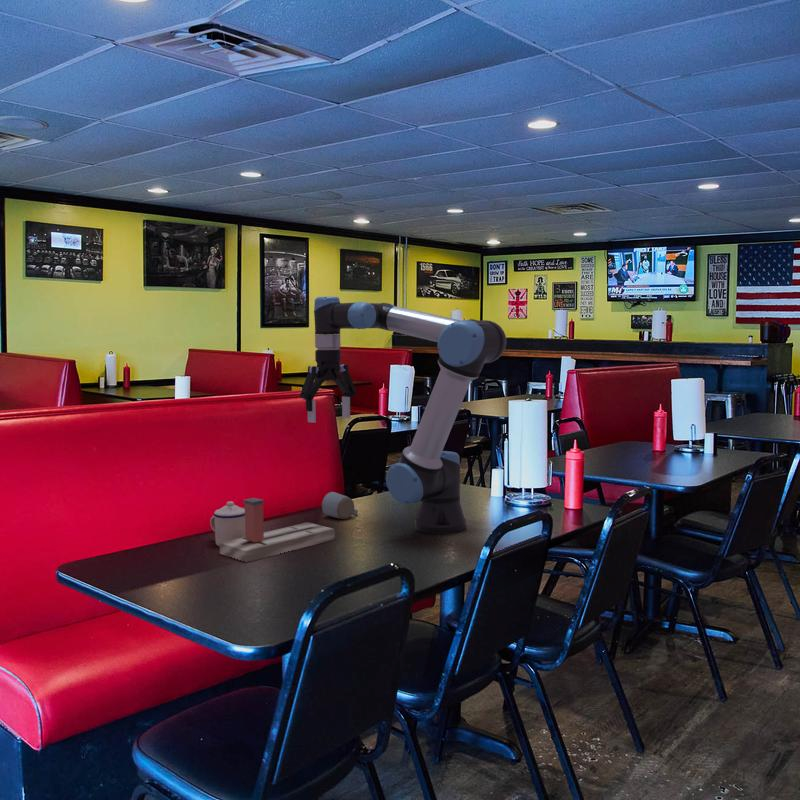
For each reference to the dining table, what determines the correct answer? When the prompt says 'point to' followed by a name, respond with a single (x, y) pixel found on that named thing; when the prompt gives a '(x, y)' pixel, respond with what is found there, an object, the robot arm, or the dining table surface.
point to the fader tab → (254, 519)
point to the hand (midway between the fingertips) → (329, 420)
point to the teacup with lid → (228, 523)
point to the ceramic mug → (338, 506)
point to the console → (277, 542)
